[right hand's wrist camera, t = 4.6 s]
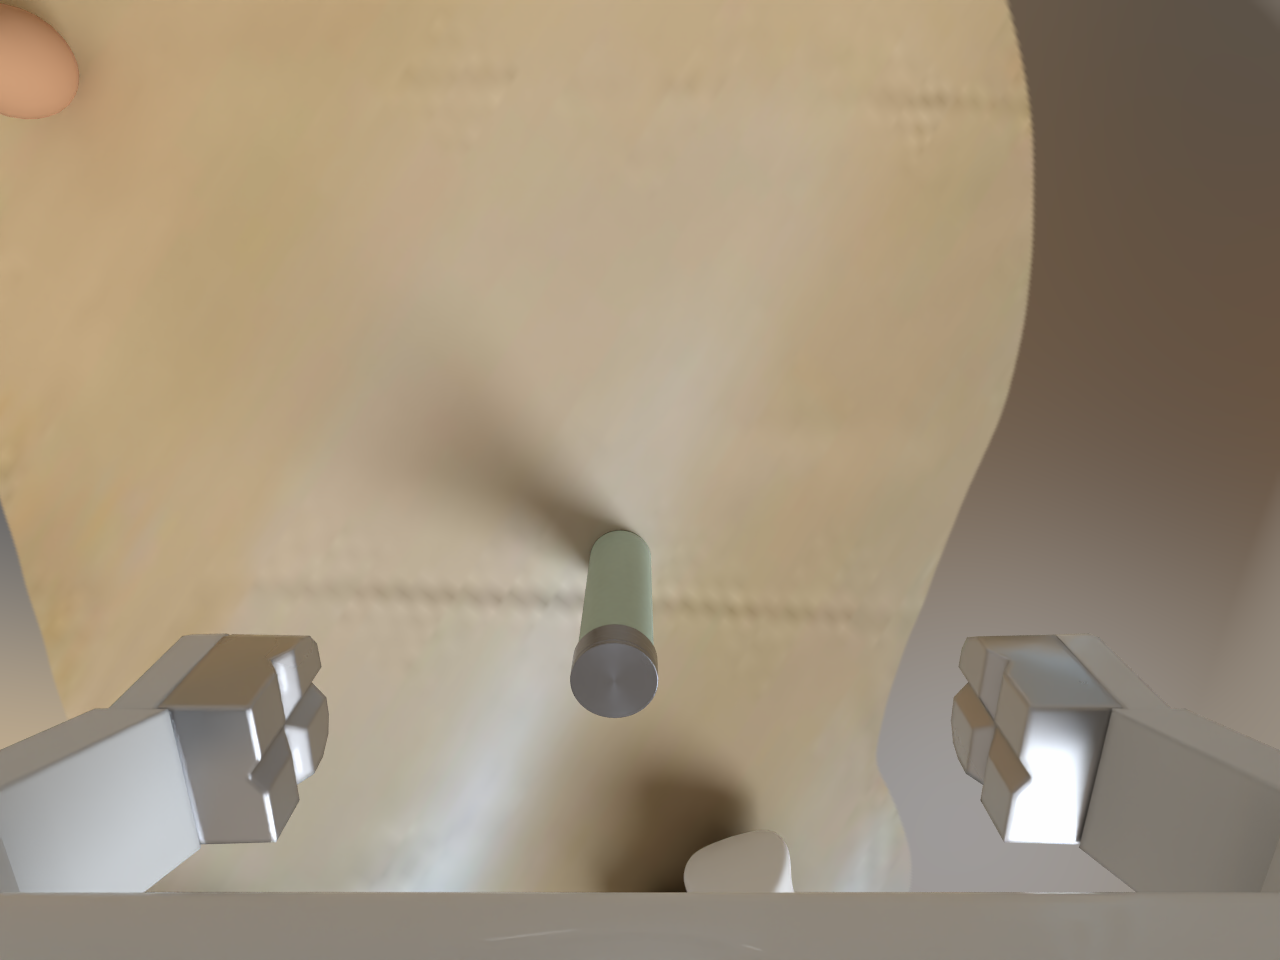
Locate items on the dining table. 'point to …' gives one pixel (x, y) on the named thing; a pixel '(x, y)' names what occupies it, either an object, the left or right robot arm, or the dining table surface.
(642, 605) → the bottle
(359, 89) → the dining table surface
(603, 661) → the lid
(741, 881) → the fox head
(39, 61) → the egg
